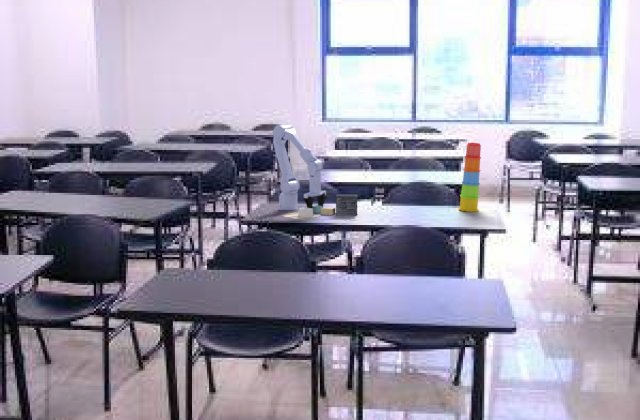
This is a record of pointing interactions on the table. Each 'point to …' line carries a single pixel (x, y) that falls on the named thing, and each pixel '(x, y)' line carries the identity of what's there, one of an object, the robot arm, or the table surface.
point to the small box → (346, 204)
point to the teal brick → (316, 208)
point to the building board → (296, 216)
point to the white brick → (305, 212)
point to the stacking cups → (471, 179)
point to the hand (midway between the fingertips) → (315, 210)
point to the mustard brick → (328, 211)
